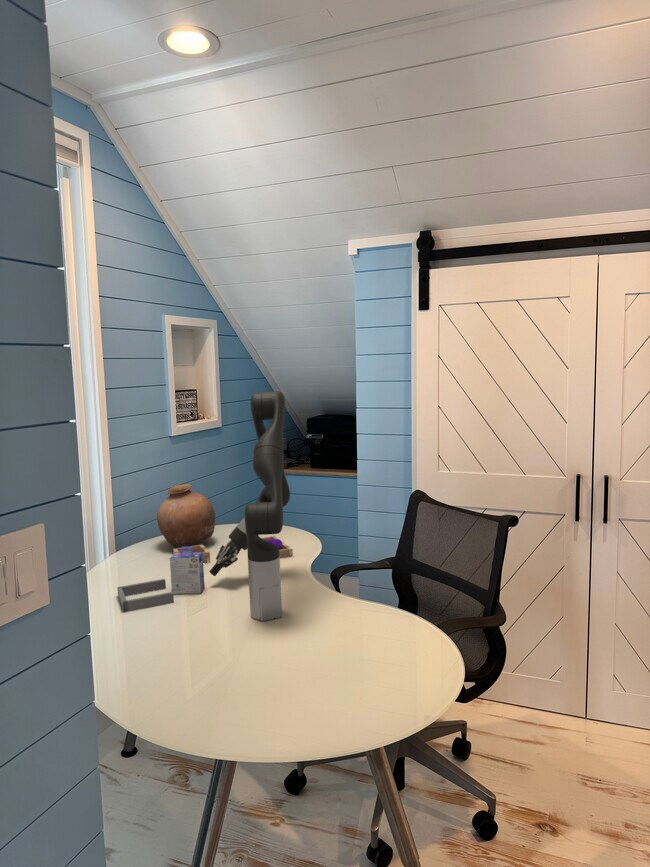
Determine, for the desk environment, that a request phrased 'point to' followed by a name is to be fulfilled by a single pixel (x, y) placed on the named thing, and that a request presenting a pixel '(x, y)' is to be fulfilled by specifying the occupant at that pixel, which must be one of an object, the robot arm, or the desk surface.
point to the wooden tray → (196, 550)
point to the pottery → (186, 517)
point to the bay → (144, 601)
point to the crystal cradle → (285, 550)
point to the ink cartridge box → (187, 572)
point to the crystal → (276, 542)
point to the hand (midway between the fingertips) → (211, 574)
